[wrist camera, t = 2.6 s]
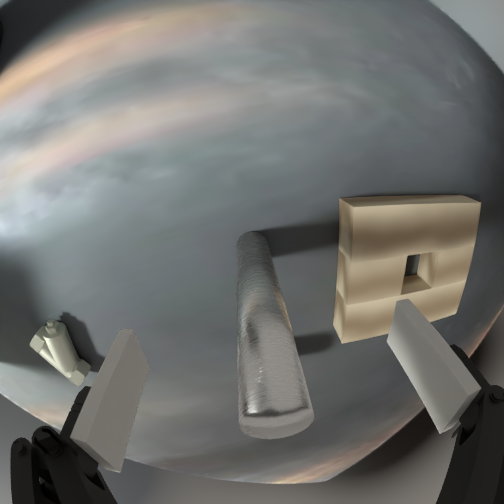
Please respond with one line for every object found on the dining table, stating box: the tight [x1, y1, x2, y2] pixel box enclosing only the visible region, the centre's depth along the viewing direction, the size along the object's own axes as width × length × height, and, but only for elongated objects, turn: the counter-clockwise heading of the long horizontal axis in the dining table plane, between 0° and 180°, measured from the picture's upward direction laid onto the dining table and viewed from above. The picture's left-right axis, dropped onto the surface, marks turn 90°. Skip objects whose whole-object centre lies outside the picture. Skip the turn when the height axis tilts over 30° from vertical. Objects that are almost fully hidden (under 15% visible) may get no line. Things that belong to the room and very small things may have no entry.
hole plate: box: [333, 195, 481, 343], centre depth 23 cm, size 13×15×3 cm
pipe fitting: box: [30, 319, 91, 387], centre depth 25 cm, size 8×4×7 cm
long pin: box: [236, 232, 314, 439], centre depth 15 cm, size 3×3×16 cm
